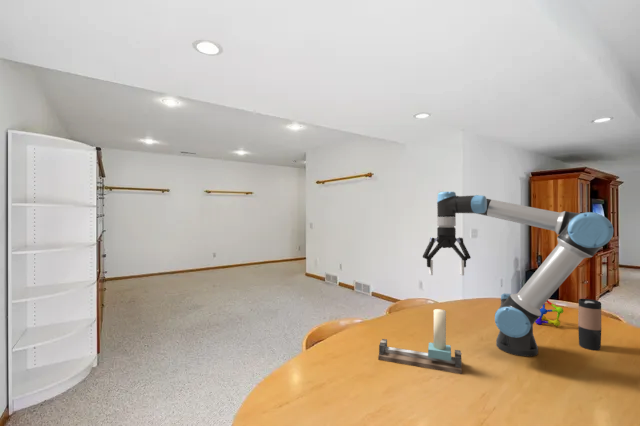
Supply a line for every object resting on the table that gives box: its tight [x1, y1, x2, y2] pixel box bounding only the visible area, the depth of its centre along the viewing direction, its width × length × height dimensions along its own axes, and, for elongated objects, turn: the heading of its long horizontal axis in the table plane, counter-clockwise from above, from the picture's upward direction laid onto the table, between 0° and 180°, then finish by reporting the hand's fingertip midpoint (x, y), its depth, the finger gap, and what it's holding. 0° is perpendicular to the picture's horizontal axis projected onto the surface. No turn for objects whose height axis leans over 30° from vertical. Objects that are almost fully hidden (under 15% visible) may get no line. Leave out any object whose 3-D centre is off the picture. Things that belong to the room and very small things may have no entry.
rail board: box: [377, 338, 463, 375], centre depth 123 cm, size 30×10×5 cm, turn 69°
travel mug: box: [577, 298, 602, 352], centre depth 136 cm, size 8×8×20 cm
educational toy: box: [534, 299, 564, 327], centre depth 164 cm, size 16×13×15 cm
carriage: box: [427, 308, 452, 361], centre depth 120 cm, size 8×7×17 cm
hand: (446, 274), depth 139 cm, fingers open, 13 cm apart
